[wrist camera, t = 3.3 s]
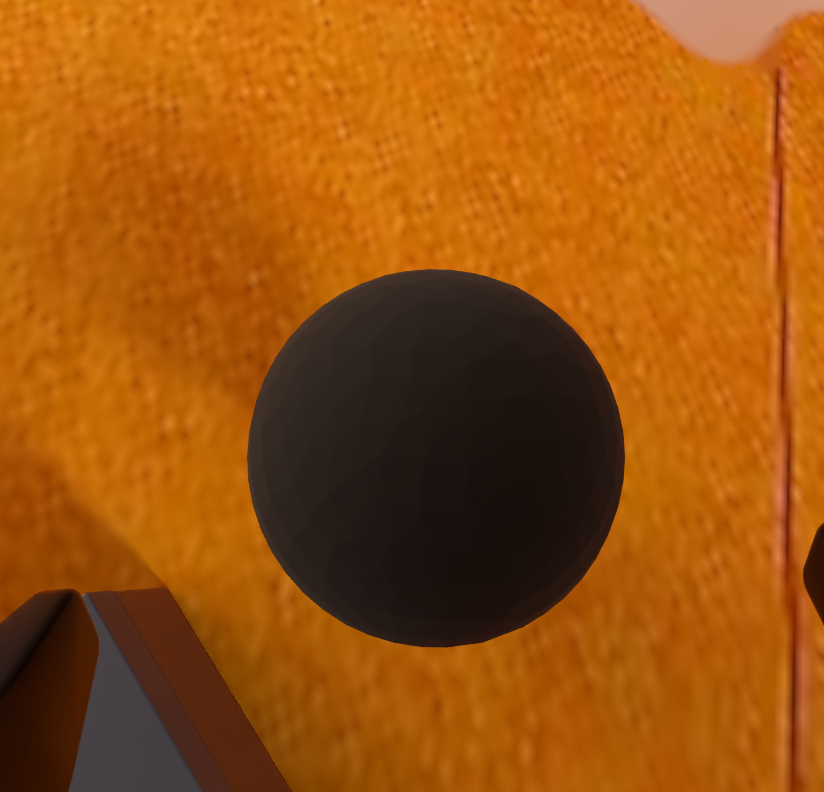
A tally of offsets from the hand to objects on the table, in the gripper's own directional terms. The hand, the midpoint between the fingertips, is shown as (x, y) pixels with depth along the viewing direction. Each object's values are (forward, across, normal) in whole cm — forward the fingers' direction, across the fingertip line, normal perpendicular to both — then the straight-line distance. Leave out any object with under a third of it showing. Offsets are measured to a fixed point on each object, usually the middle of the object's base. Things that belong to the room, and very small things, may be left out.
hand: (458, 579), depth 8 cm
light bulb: (+8, 0, +5) cm, 10 cm away
